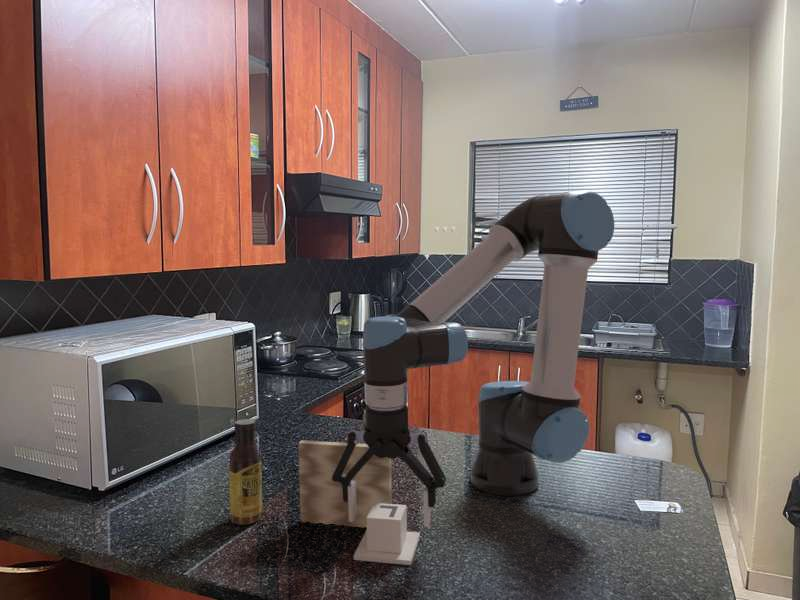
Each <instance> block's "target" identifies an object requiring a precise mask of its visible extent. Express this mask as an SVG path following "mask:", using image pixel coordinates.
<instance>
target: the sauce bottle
mask: <svg viewBox="0 0 800 600" xmlns="http://www.w3.org/2000/svg"><path fill="white" fill-rule="evenodd" d="M256 423H257V422H256V421H255V419H250V418H245V419H238V420H235V421H234V425H233V426H234V431H235V441H234V442H235V446H234V447H233V449H232V451H231V453H230V456H229V468H228V469H229V470H228V473H229V474H228V475H229V477H228V479H229V482H228V483H229V487H228V488H229V489H228V490H229V514H230V515H229V517H230V518H229V519H230V522H231V523H232V524H235V525H236V526H237V525H238V526H249V525H252V524H255V523H257V522H258V521H259V520H260V519H261V517H262V513H263V512H262V510H263V479H262V478H263V475H262V474H263V472H262V471H263V468H262V467H263V465H262V463H263V462H262V458H261V456H260V453H259V450H258V447H257V444H256V428H257V425H256Z"/></svg>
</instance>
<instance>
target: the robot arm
mask: <svg viewBox="0 0 800 600" xmlns="http://www.w3.org/2000/svg"><path fill="white" fill-rule="evenodd" d="M614 231H615V218H614V214H613V211H612V208H611V207H610V206H609V205H608V203H607V200H606V199H605V198H604V197H603V196H602V195H600V194H599V193H597V192H595V191H590V190H571V191H568V192H567V191H565V192H560V193H559V192H558V193H551V194H541V195H539V194H538V195H535V196H533V197H530V198H528V199H526V200H525V201H523V202H521V203H519V204H518V205H516V207H514V208H512V209H510V211H509V212H507V213H506V214H505V215H504V216H502V217H501V218H500V219H498V221H496V222H495V223H494V224H493V225H492V226H491V227H490V228H489V229H488V235H487V236H486V237H485V238H484V239H482V240H481V241H480V242H479V243H478V244H477V245H476V246H475V247H473V248H472V249H471V250H470V251H469V252H468V253H466V254H465V255H464V256H463V257H462V258H461V259H459V260H458V261H457V262H456V263H455V264H454V265H453V266H452V267H451V268H449V269H448V270H447V271H446V272H444V273H443V274H442V275H441V276H440V277H439V278H438V279H437V280H436V281H434V283H432V284H431V285H429V286H428V288H426V289H425V290H424V291H423V292H422V293H421V294H419V295H418V296H417V297H416V298H415V299H414V300H413V301H411V302H410V303H409V304H408V305H406V307H404V308H403V309H402V310H401V311H400V312H399V313H393V314H387V315H385V316H375V317H374V316H373V317H370V318H368V319H366V320H365V322H364V323H363V330H362V331H363V332H362V345H361V346H362V349H363V351H362V352H363V367H364V369H363V370H364V372H363V373H364V385H363V386H364V402H365V403H364V404H365V405H366V407H365V409H364V410H365V418H366V431H365V430H364V431H361V430H360V431H359V430H358V429H357V428H355V427H354V428H352V429H351V430H350V432H348V434H347V443H348V444H347V446H346V449H345V451H344V453H343V455H342V457H341V459H340V461H339V463H338V465H337V468H336V470H335V472H334V474H333V476H332V480H333V481H334V482H336V481H337V482H340V483H341V484H342V487H343V500H344V502H348V510H349V522H353V521H354V519H355V517H356V516H357V504H356V481H351V480H352V479H353V478H354V476H355V475H356V474H357V473H358V472H359V471H360V469H361V468H362V467H363V466H364V465H365V464H366V462H367V461H368V460H369V459H370V458H371V457H372V456H373V455H376V456H377V457H378V458H385V457H388V458H391V460H395V459H397V458H399V459H400V460H401V461H402V462H403V463H405V464H406V465H407V467H409V468H410V470H411V471H412V472H413V473H414V475H415V476H416V477H417V478H418V479H419V480H420V482H421V483H422V484H423V485H424V489H423V491H422V492H423V493H422V495H423V496H422V497H423V500H422V501H423V527H424V528H429V526H430V522H431V508H435V505H436V503H437V502H436V501H437V491H436V489H439V488H440V489H441V488H444V487H445V485H446V481H447V478H446V475H445V473H444V472H443V469H442V468H441V466H440V464H439V462H438V460H437V458H436V456H435V454H434V452H433V451H432V448H431V447H430V445H429V443H428V442H429V440H428V436H427V432H426V431H425V430H421V431H420V433H419V432H418V433H411V432H410V430H409V407H408V406H407V403H408V402H409V395H408V394H409V393H408V392H409V391H408V389H409V388H408V370H412V369H419V368H426V367H436V366H442V365H443V366H444V365H446V366H449V365H450V364H454V363H459V362H461V361H463V360H464V358H466V356H467V353H468V350H469V343H468V341H469V338H468V335H467V332H466V330H465V328H464V327H463V326H462V324H460V323H458V322H456V321H455V322H454V321H453V322H446V321H447V320H448V319H450V317H452V316H453V315H454V314H455V313H456V312H457V311H458V310H459V309H461V307H463V306H464V305H465V304H466V303H467V302H468V301H469V300H471V299H472V297H474V296H475V295H476V294H477V293H478V292H479V291H480V290H481V289H483V288H484V287H486V285H487V284H489V282H491V281H492V279H494V278H495V277H496V276H497V275H498V274H499V273H501V272H502V271H503V270H505V268H506V267H507V266H509V265H510V264H511V263H512V262H514V263H515V262H516V263H517V262H520V261H521V260H522V259H524V257H526V256H527V255H528V254H531V253H533V252H537V251H538V252H537V256H538V258H539V259H540V261H541V262H542V263H543V266H544V267H543V274H542V275H543V276H542V283H541V292H540V300H539V310H538V318H537V326H536V333H535V334H536V335H535V341H534V343H535V344H534V348H533V349H534V350H533V351H534V352H533V359H532V366H531V367H532V368H531V375H530V380H529V381H525V380H524V381H523V380H503V381H492V382H488V383H485V384H484V383H483V385H481V386H480V388H479V391H478V392H479V393H478V400H477V403H478V449H477V451H476V455H475V457H474V461H473V462H472V463H473V464H472V466H471V470H470V482H471V484H472V486H473V487H475V488H476V489H477V490H479V491H482V492H485V493H487V494H492V495H496V496H510V497H511V496H521V495H526V494H530V493H532V492H534V491H535V490H537V488H538V487H539V472H538V469H537V465H536V463H535V460H534V457H533V455H534V456H536V457H537V458H539V459H542V460H545V461H549V462H551V463H554V464H555V463H556V464H561V463H565V462H568V461H570V460H572V459H574V458H575V457H577V455H578V453H580V452H581V451H582V450H583V448H584V447H585V445H586V443H587V441H588V438H589V436H590V435H589V434H590V421H589V419H588V418H587V415H586V413H585V412H584V411H583V410H582V409H580V403H581V394H580V393H579V392H578V391H577V390H576V389H575V379H576V374H577V373H576V372H577V364H578V356H579V349H580V348H579V346H580V340H581V339H580V337H581V330H582V323H583V315H584V307H585V306H584V305H585V297H586V290H587V282H588V281H587V279H588V273H589V269H590V268H591V267H592V266H594V265H595V264H596V263H597V262H598V258H599V257H598V255H599V251H601V250H603V249H604V248H606V247H607V246H608V245H609V244H608V243H609V242H611V241H612V239H613V235H614V234H615V233H614ZM362 440H363V441H364V442H365V444H367V445H368V447H369V448H368V450H367V451H366V452H365V453H364V454H363V456H362V457H361V458H360V459H359V460H358V462H357V463H356V464H355V465H354V466H353V467H352V469H351V470H350V471H349V472H348V473H347V474H344V473H343V471H344V469H345V467H346V465H347V463H348V461H349V459H350V456H351V454H352V452H353V450H354V448H355V446H356V444H360V442H361V441H362ZM411 442H413V443H414V445H415V446H416V447H418V450H419V452H420V454H421V456H422V458H423V460H424V462H425V464H426V466H427V468H428V469H429V471H430V472H429V471H428V470H427V468H426V467H425V466H424V465H423V464H422V463H421V461H420V460H419V459H418V458H417V456H415V455H414V452H413V451H412V449H411V448H410V447H409V444H410V443H411Z"/></svg>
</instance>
